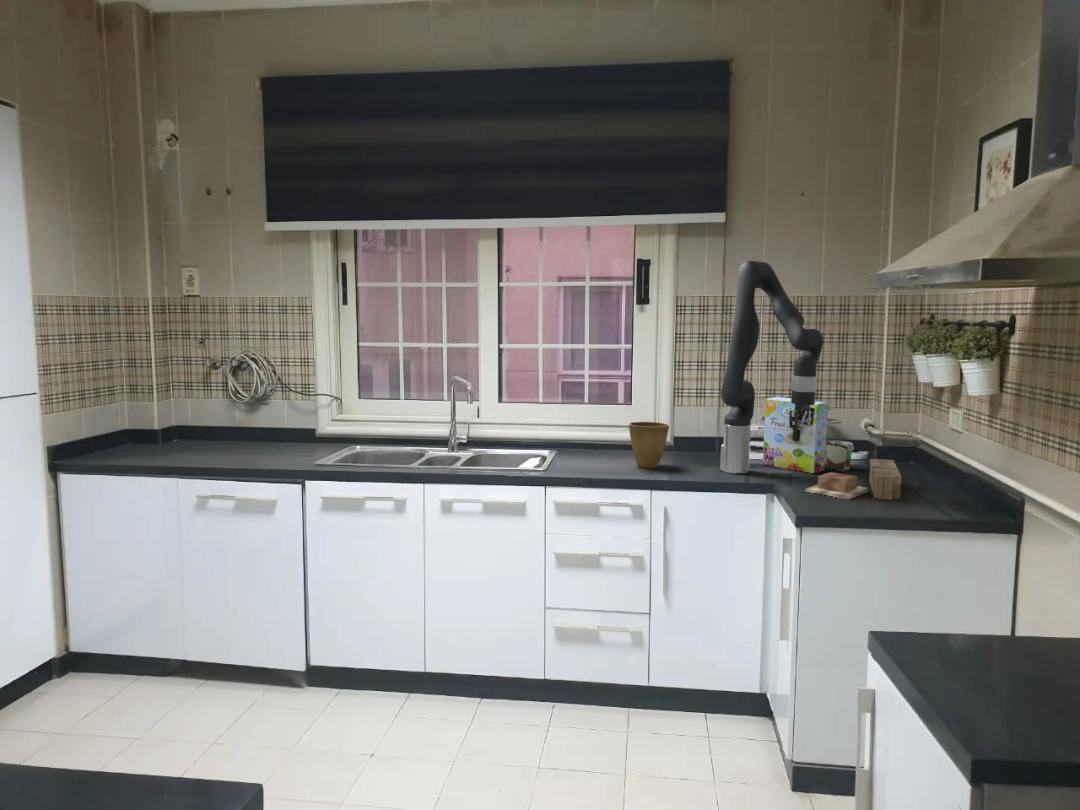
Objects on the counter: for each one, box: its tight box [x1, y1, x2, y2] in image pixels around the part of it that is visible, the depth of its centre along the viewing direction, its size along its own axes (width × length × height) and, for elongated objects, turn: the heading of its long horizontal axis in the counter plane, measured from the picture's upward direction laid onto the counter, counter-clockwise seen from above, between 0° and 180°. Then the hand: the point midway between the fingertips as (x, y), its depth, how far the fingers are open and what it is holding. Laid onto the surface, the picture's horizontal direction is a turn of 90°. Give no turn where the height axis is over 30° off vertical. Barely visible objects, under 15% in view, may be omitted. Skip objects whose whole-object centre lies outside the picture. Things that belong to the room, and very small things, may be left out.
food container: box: [825, 439, 855, 472], centre depth 292 cm, size 12×6×10 cm, turn 22°
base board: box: [804, 471, 869, 500], centre depth 253 cm, size 14×16×5 cm
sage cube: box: [788, 424, 814, 446], centre depth 260 cm, size 6×6×6 cm
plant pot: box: [628, 421, 670, 469], centre depth 292 cm, size 15×15×16 cm
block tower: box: [868, 458, 902, 501], centre depth 257 cm, size 8×8×29 cm
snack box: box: [762, 396, 829, 474], centre depth 290 cm, size 22×9×26 cm, turn 42°
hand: (800, 439), depth 260 cm, fingers closed on sage cube, 6 cm apart
